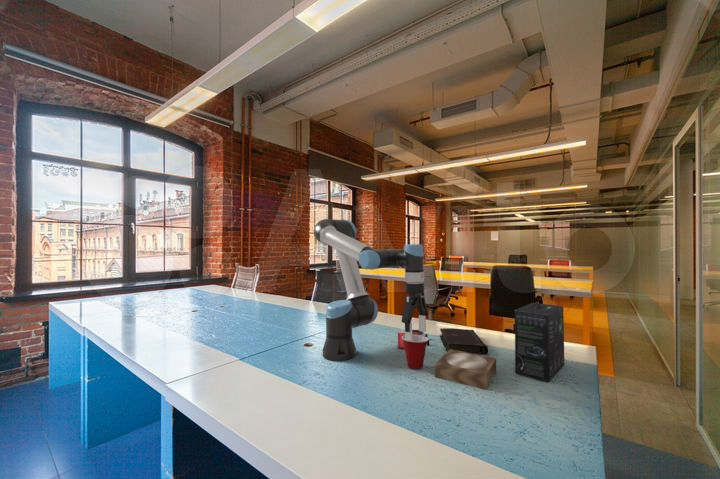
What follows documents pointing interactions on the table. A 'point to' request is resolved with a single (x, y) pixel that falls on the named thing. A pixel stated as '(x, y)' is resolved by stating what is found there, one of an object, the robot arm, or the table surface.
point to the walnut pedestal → (466, 368)
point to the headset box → (539, 340)
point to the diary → (462, 341)
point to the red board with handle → (414, 332)
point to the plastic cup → (415, 351)
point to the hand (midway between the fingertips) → (415, 335)
